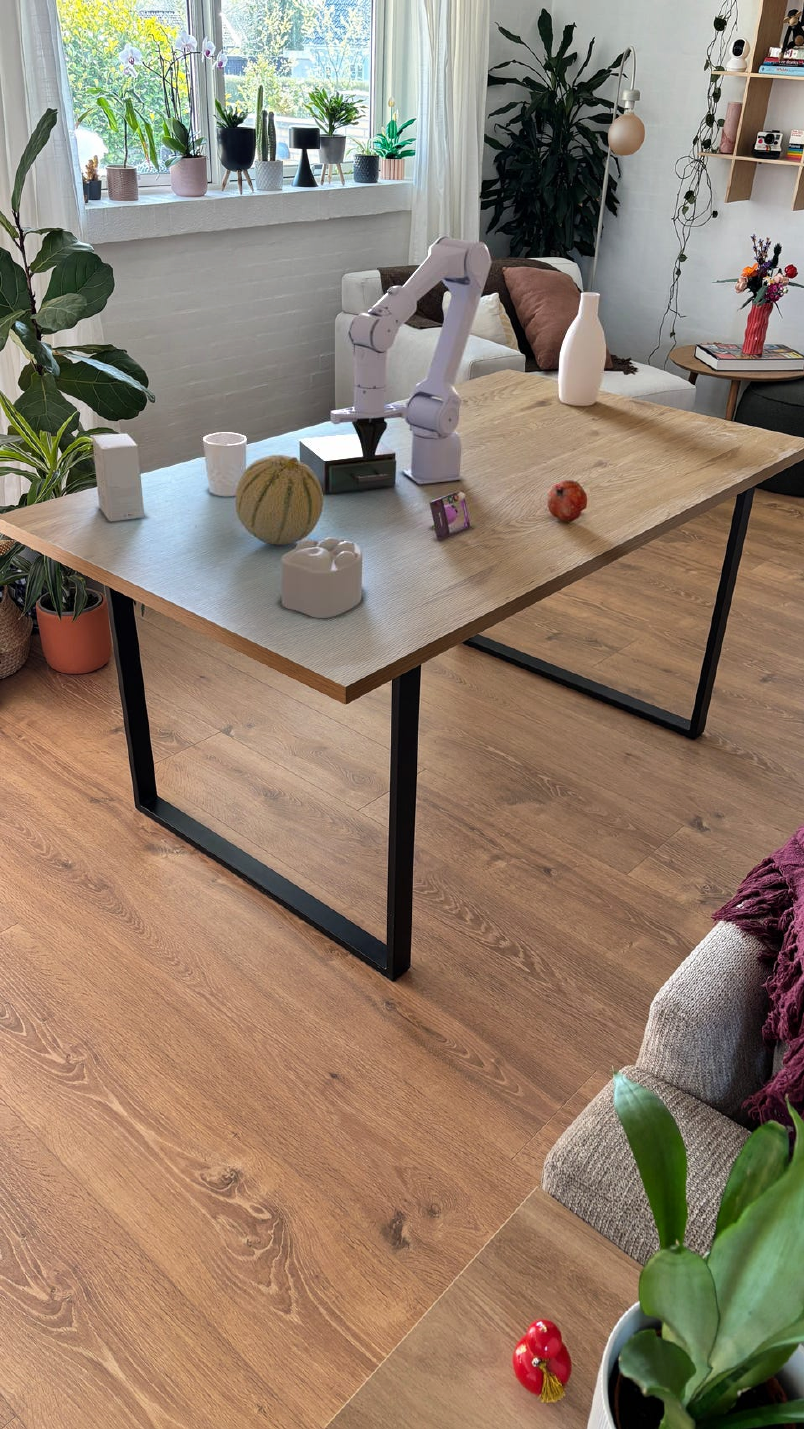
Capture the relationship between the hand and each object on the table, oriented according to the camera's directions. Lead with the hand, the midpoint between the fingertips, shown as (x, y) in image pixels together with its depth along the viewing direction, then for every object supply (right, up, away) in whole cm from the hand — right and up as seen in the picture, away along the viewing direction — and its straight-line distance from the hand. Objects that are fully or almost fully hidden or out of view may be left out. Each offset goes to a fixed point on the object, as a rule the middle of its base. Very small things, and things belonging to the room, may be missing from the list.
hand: (368, 458), depth 202 cm
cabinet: (-5, -1, +12) cm, 13 cm away
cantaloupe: (-15, -18, -17) cm, 29 cm away
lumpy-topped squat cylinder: (-5, -30, -36) cm, 47 cm away
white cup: (-27, -5, +4) cm, 28 cm away
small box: (-44, -12, -8) cm, 46 cm away
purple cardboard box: (+14, -15, -10) cm, 23 cm away
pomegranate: (+36, -12, -2) cm, 38 cm away
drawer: (-3, -3, +8) cm, 9 cm away
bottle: (+50, +30, +69) cm, 90 cm away
